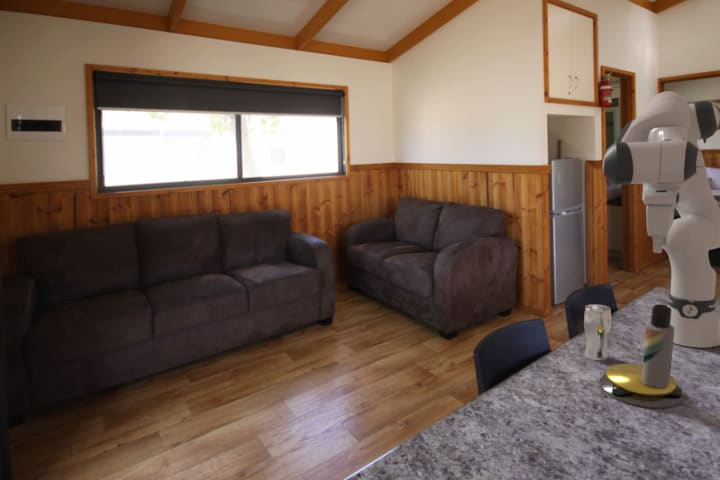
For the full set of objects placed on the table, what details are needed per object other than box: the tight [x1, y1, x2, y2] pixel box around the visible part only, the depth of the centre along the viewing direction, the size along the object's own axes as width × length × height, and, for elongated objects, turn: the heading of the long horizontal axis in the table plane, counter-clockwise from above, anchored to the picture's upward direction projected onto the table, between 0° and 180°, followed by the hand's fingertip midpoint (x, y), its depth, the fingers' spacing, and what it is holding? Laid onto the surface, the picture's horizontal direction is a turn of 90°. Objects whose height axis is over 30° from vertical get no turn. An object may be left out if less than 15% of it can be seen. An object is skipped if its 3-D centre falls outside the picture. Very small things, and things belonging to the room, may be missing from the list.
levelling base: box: [599, 363, 684, 410], centre depth 117 cm, size 18×18×3 cm
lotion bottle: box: [642, 304, 674, 389], centre depth 111 cm, size 6×6×20 cm
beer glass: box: [583, 304, 612, 361], centre depth 135 cm, size 7×7×15 cm
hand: (659, 248), depth 116 cm, fingers open, 8 cm apart
